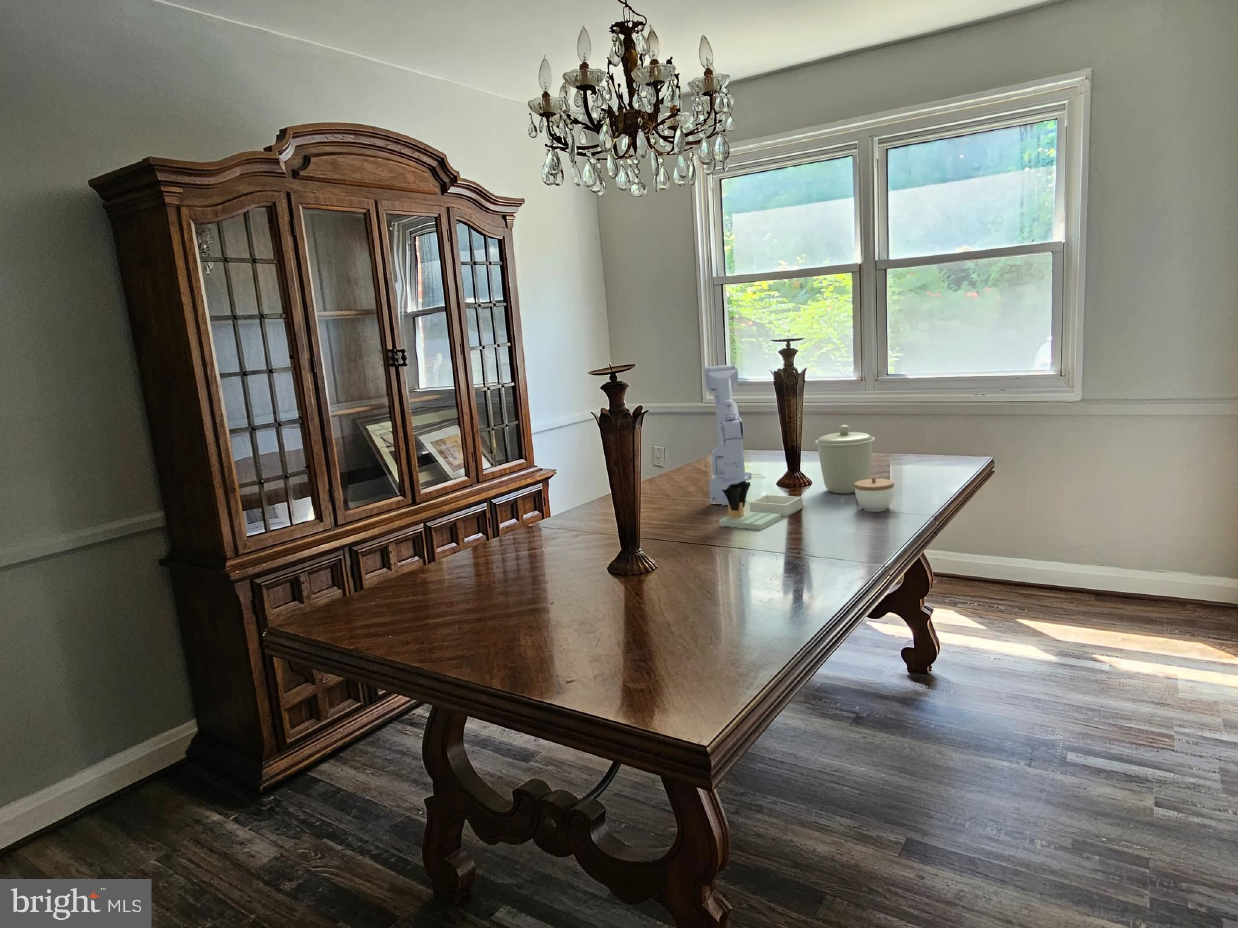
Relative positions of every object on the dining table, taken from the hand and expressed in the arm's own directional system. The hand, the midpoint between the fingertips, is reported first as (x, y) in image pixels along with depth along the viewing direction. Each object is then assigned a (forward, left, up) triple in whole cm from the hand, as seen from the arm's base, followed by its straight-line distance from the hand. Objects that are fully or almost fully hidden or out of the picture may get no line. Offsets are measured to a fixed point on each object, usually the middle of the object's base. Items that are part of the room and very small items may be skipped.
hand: (737, 508), depth 219 cm
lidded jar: (+30, +24, -4) cm, 39 cm away
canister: (+14, +44, -4) cm, 46 cm away
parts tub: (+4, +14, -4) cm, 15 cm away
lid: (+4, 0, -3) cm, 5 cm away
